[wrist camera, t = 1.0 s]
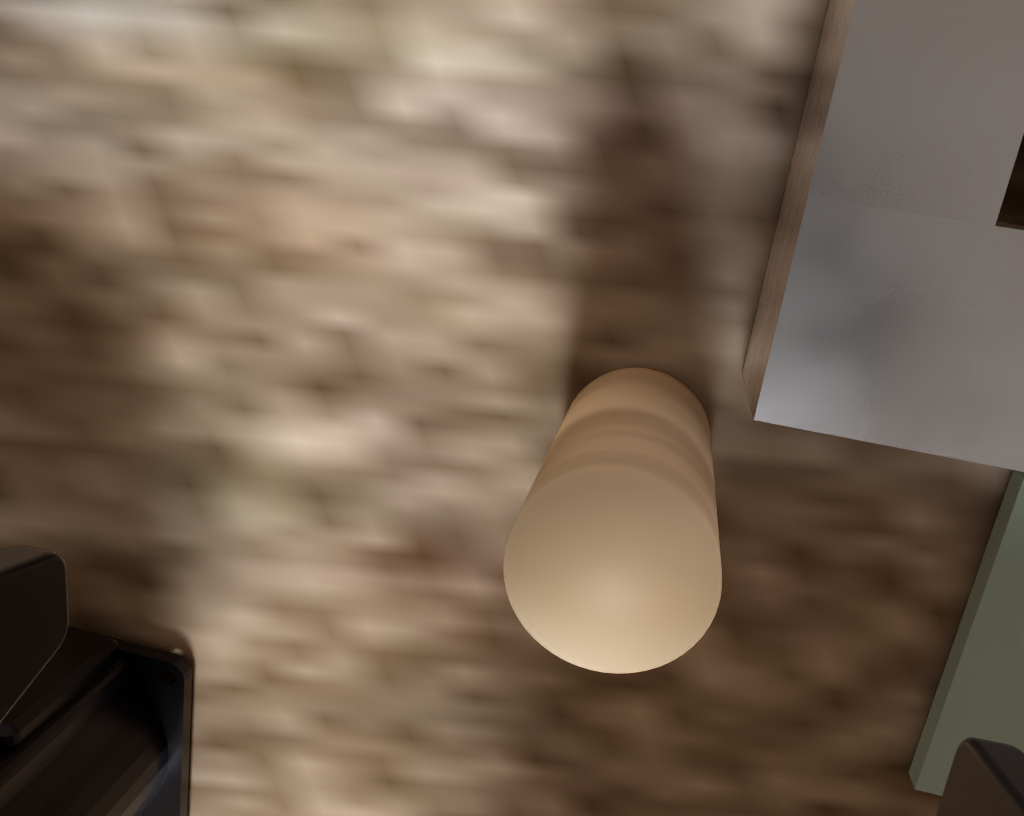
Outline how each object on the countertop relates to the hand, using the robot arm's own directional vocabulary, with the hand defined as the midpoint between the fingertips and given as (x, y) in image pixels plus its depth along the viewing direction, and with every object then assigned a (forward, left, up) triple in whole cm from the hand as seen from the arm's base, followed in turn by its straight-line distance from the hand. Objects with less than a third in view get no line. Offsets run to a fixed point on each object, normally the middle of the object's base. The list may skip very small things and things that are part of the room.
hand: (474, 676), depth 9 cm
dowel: (-1, -1, -12) cm, 12 cm away
